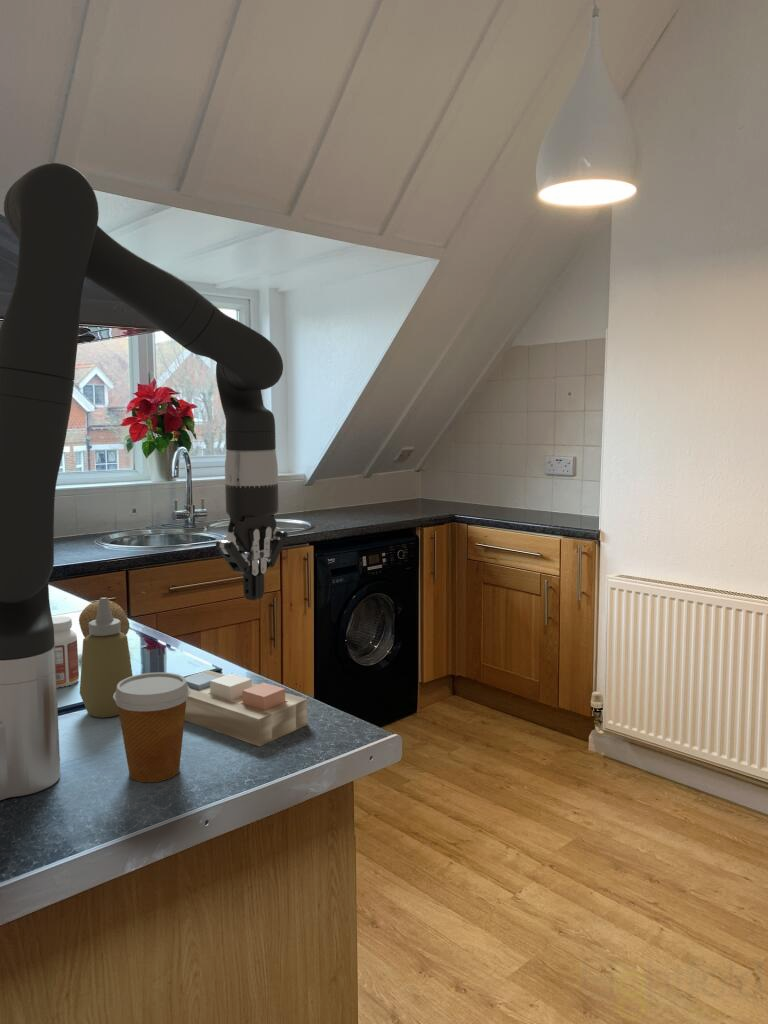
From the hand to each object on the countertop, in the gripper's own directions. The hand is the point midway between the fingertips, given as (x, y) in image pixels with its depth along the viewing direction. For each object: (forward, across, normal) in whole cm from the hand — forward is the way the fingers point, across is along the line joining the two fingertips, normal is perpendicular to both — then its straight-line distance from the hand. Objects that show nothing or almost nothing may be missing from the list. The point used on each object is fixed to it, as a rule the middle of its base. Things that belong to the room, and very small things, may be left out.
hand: (254, 598), depth 121 cm
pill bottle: (+19, -6, +40) cm, 45 cm away
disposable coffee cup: (+19, -20, 0) cm, 27 cm away
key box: (+19, 0, +5) cm, 20 cm away
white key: (+17, 0, +5) cm, 17 cm away
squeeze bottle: (+19, -10, +22) cm, 31 cm away
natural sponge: (+19, +10, +50) cm, 54 cm away
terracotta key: (+17, -1, -2) cm, 17 cm away
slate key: (+18, 0, +12) cm, 21 cm away
